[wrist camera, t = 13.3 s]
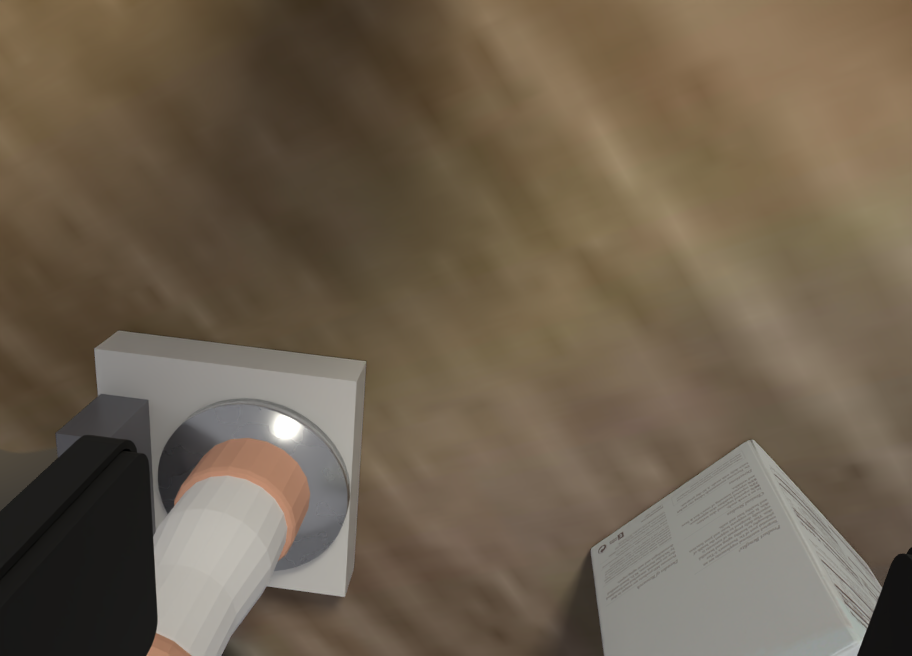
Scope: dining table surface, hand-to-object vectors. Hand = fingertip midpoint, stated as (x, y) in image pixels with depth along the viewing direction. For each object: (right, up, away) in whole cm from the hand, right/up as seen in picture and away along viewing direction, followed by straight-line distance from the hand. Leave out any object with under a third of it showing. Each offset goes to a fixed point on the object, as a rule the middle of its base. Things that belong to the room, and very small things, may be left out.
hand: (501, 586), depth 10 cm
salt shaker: (-13, -7, +39) cm, 41 cm away
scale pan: (-13, -7, +40) cm, 42 cm away
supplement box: (+18, -12, +42) cm, 47 cm away
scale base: (-15, -5, +42) cm, 45 cm away
